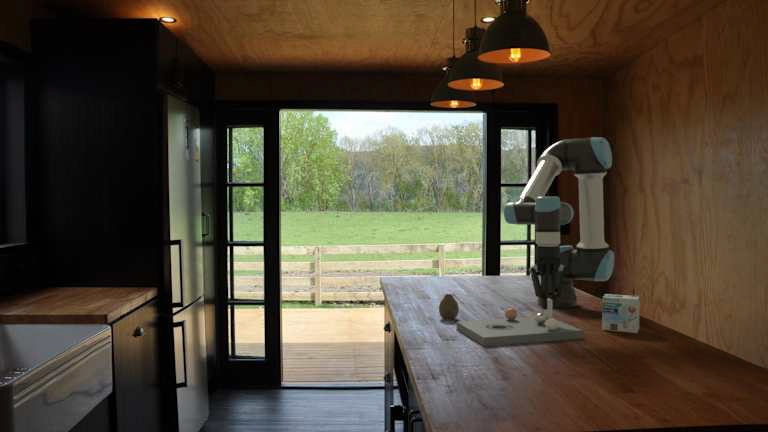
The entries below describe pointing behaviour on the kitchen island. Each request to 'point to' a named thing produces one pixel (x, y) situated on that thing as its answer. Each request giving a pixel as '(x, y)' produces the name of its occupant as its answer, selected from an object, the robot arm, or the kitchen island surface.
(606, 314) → the light bulb box
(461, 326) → the plate
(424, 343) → the kitchen island surface
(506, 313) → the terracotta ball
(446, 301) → the vase
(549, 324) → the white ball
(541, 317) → the steel ball
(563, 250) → the robot arm
